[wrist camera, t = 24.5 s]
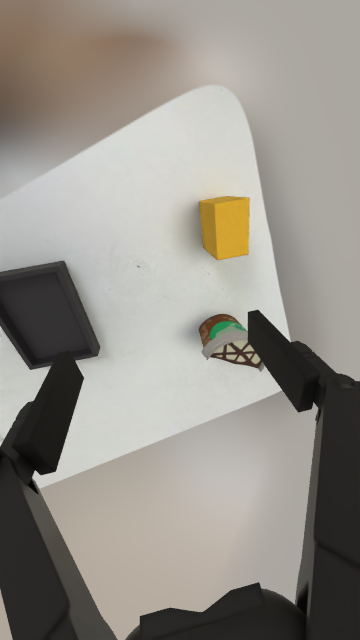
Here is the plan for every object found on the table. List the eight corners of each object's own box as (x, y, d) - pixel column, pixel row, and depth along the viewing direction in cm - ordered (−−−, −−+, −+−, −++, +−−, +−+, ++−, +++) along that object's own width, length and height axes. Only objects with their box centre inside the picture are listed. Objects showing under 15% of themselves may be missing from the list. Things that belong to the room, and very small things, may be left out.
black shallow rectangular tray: (-19, 275, 34) (-30, 281, 32) (64, 260, 35) (58, 265, 32) (36, 360, 43) (30, 370, 41) (100, 347, 44) (98, 356, 42)
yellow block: (199, 201, 34) (214, 203, 27) (227, 196, 34) (249, 197, 27) (203, 247, 37) (217, 260, 30) (228, 242, 37) (248, 254, 31)
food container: (256, 318, 46) (282, 346, 38) (241, 341, 49) (263, 372, 40) (204, 301, 42) (221, 329, 34) (192, 327, 45) (204, 359, 36)
